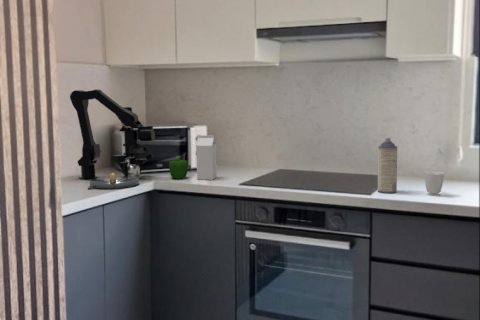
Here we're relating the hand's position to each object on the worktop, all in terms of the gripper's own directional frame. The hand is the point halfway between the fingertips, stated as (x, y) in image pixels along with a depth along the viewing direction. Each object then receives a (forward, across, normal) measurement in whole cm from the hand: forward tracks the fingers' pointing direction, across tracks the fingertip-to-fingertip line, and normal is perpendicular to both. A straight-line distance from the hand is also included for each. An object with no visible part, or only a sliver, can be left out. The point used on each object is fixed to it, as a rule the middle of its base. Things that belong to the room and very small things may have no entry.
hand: (132, 176), depth 247 cm
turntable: (+1, -15, -8) cm, 17 cm away
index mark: (+1, -26, -8) cm, 28 cm away
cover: (+1, 0, 0) cm, 1 cm away
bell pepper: (+1, +13, -16) cm, 21 cm away
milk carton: (+1, +20, -27) cm, 34 cm away
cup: (+1, +46, -118) cm, 127 cm away
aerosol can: (+1, +40, -103) cm, 110 cm away
